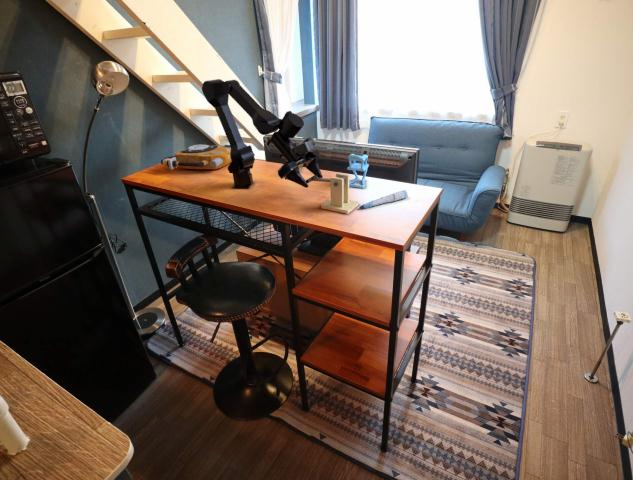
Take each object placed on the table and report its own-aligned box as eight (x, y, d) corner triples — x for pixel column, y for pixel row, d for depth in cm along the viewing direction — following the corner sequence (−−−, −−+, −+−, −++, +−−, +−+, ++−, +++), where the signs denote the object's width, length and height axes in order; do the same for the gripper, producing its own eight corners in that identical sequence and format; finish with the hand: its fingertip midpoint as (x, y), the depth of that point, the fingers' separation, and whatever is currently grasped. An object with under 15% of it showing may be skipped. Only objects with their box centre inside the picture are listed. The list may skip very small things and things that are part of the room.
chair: (370, 181, 136) (371, 150, 130) (364, 188, 129) (365, 157, 123) (351, 178, 139) (352, 149, 133) (344, 186, 132) (344, 155, 126)
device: (215, 157, 143) (153, 154, 149) (219, 176, 147) (158, 173, 154) (239, 143, 161) (183, 141, 168) (241, 160, 166) (187, 158, 172)
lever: (306, 184, 116) (305, 178, 115) (314, 179, 120) (313, 173, 119) (339, 188, 110) (339, 180, 109) (347, 182, 114) (347, 175, 113)
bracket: (321, 208, 116) (320, 177, 110) (332, 199, 122) (332, 170, 116) (347, 214, 111) (348, 182, 106) (358, 204, 117) (359, 174, 111)
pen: (402, 195, 122) (403, 188, 121) (408, 198, 120) (409, 191, 118) (356, 208, 115) (356, 200, 113) (362, 211, 112) (362, 203, 111)
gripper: (281, 137, 105) (313, 177, 105) (313, 125, 118) (342, 160, 119) (264, 160, 112) (294, 197, 113) (296, 145, 126) (323, 179, 126)
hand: (314, 182), depth 117 cm, fingers open, 9 cm apart
